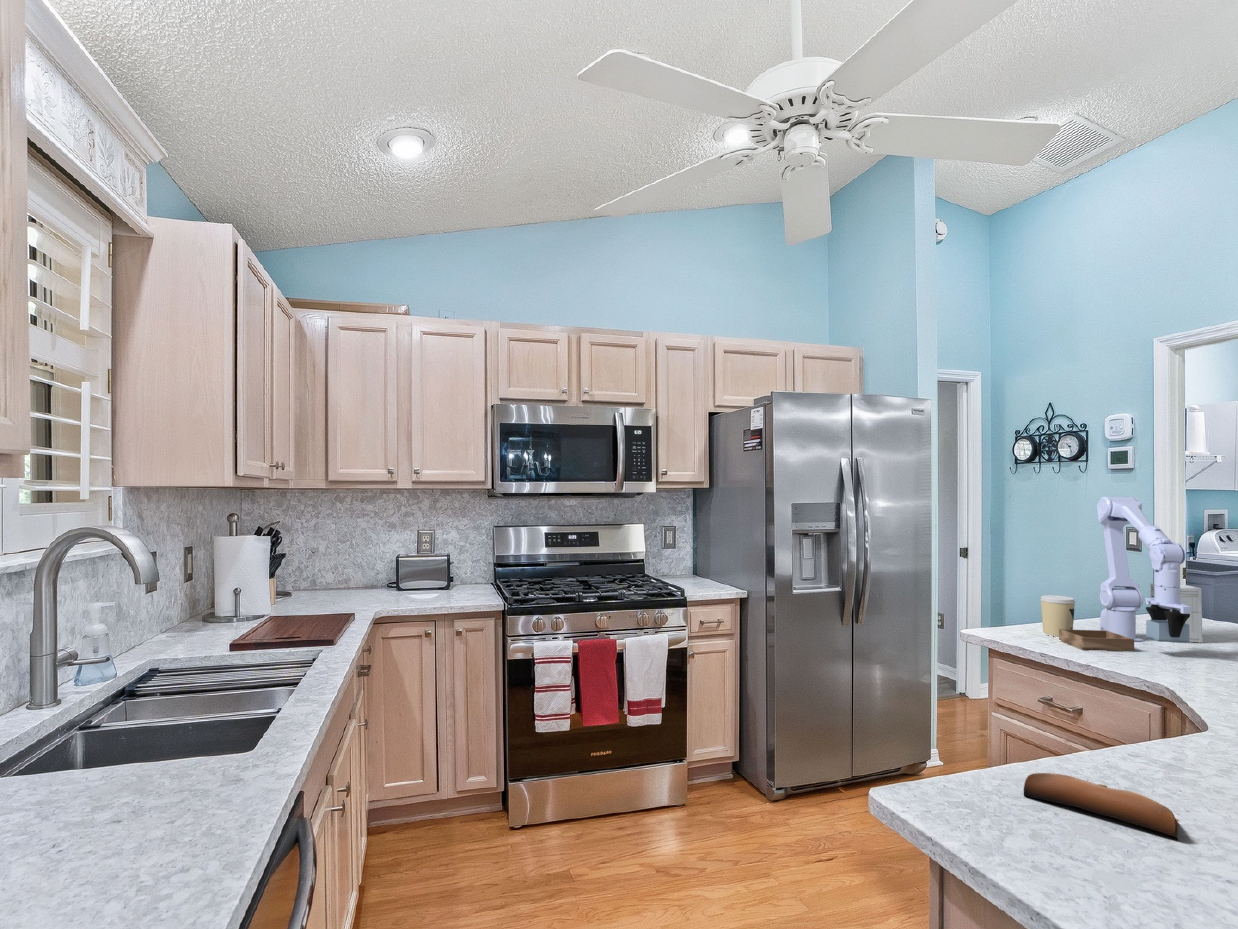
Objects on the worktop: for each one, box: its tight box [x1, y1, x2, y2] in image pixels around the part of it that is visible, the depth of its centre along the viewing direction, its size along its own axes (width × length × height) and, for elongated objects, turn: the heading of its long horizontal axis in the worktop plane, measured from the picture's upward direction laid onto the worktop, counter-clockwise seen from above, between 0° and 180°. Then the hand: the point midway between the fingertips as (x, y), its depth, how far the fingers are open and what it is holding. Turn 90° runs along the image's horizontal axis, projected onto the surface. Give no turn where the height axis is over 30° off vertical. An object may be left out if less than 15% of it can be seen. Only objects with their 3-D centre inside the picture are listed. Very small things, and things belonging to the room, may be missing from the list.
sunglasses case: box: [1023, 772, 1180, 841], centre depth 98 cm, size 18×7×7 cm, turn 47°
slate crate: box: [1145, 619, 1190, 644], centre depth 192 cm, size 5×8×5 cm, turn 86°
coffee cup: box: [1039, 594, 1076, 638], centre depth 216 cm, size 9×9×12 cm
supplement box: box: [1149, 583, 1203, 644], centre depth 213 cm, size 10×9×17 cm
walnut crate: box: [1058, 629, 1135, 652], centre depth 202 cm, size 12×14×4 cm
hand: (1167, 634), depth 192 cm, fingers closed on slate crate, 5 cm apart
